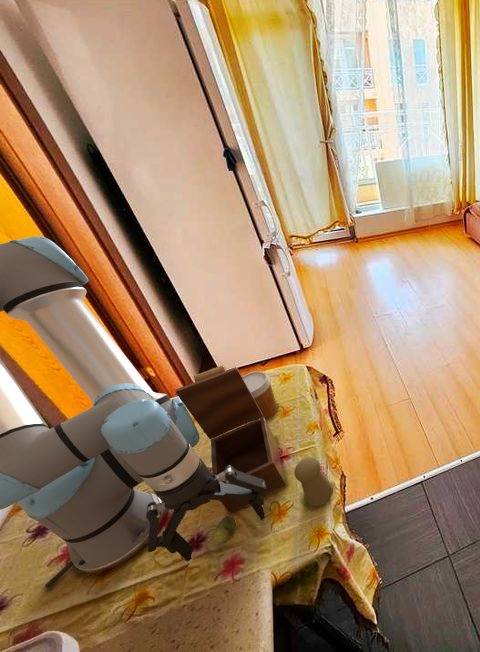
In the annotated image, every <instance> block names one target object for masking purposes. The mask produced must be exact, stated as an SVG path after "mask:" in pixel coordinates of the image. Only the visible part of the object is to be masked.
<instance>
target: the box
mask: <svg viewBox="0 0 480 652" xmlns="http://www.w3.org/2000/svg"><path fill="white" fill-rule="evenodd" d="M210 452H211V453H210V455H211V473H212V474H214V475H218V474H220V473H221V472H223V471H225V467H226V466H228V465H231V466H232V467H233V468H234V469H235V470H237V471H240V472H243V473H246V474H249V475H252V476H255V477H257V478H260V479H263V480H265V484H266V492H264V493H261V495H262V497H263V498H265V497H268V496H269V495H270V494H273V493H274V492H277V491H278V490H280V489H282V488H284V487H285V486H287V481H286V478H285V473H284V469H283V465H282V461H281V456H280V452H279V447H278V444H277V439H276V436H275V435H274V433H273V431H272V429H271V427H270V426H269V424H268V422H267V419H266V420H265V418H264V417H261V418H259V419H257V420H253V421H251V422H249V423H246V424H244V425H242V426H240V427H237V428H235V429H233V430H231V431H228V432H226V433H224V434H221V435H219V436H217V437H215V438H212V439H210ZM220 482H224V483H225V484H231V483H230V482H229V483H226V482H225V481H220ZM215 493H217V489H216V492H215ZM218 502H220V503H221V505H222V506H223V507H224V509H225V510H226V511H227V512H228V514H229V515H233V514H235V513H237V512H238V511H240V510H242V509H245V508H246V507H248V506H251V505H250V504H249V500H244V499H225V498H222V499H221V500H218Z"/></svg>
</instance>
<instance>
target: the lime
mask: <svg viewBox="0 0 480 652" xmlns="http://www.w3.org/2000/svg"><path fill="white" fill-rule="evenodd" d="M237 526H238V524H237V521H236V519H235V518H234V517H233V516H231V515H226V516H224V517H223V518H222V519H220V521H219V522H218V524H217V526H216V527H215V529H214V531H213V534H212V538H211V543H212V544H214V545H220V544H224V543H227V542H228V541H229V540H231V539H232V538H233V537H234V535H235V532H236V531H237V528H238V527H237Z"/></svg>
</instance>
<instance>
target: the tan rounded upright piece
mask: <svg viewBox="0 0 480 652" xmlns="http://www.w3.org/2000/svg"><path fill="white" fill-rule="evenodd" d="M321 469H322V467H321V462H320V461H319V459H317V458H316V457H314V456H307V457H303V458H301V460H300V461H299V462H297V464H296V465H295V467H294V477H295V479H296V480H297V481H299V482H300V484H301V487H302V491H303V495H304V498H305V502H306V503H307V505H309V506H310V507H319V506H322V505H324V504H325V503H327V502H328V501H329V500H330V499H331V497H332V495H333V492H334V485H333V484H332V483H331V481H330V480H329V479H328V478H327V476H326V475H325V473H324V472H323V471H322V470H321Z"/></svg>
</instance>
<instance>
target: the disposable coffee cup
mask: <svg viewBox="0 0 480 652" xmlns="http://www.w3.org/2000/svg"><path fill="white" fill-rule="evenodd" d="M241 376H242V378H243V380H244V381H245V383H246V385H247V387H248V389H249V390H250V392H251V394H252V396H253V398H254V399H255V401H256V403H257V405H258V407H259V408H260V410H261V412H262V414H263V416H262V417H264V418H265V420H266V421H267V420H269V419H270V418H272V417H273V416H274V415H275V414H276V413H277V411H278V405H277V401H276V398H275V395H274V392H273V388H272V384H271V382H272V381H271V377H270V375H268V374H266V372H263V371H251V372H249V373H246V374H244V375H241ZM260 418H261V417H260ZM258 419H259V418H258ZM256 420H257V419H256Z"/></svg>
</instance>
